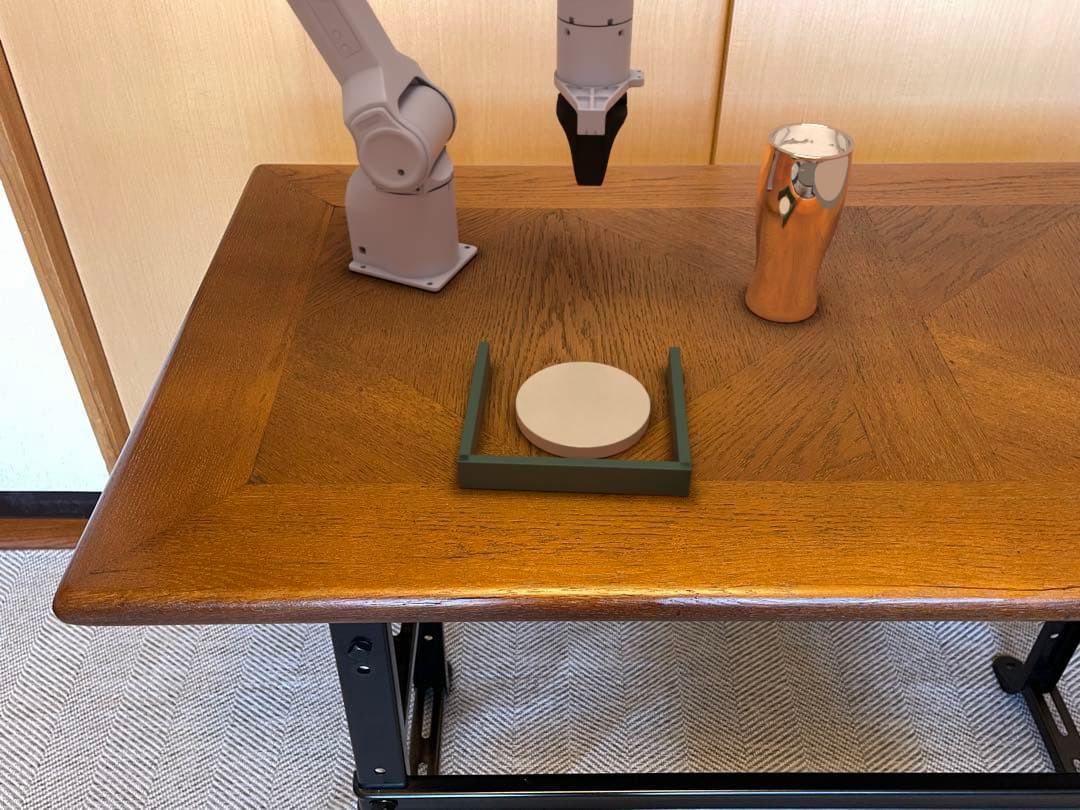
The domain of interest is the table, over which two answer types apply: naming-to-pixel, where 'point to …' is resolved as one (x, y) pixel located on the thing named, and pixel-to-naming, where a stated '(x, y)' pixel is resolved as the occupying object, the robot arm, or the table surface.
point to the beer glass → (797, 216)
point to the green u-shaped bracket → (575, 470)
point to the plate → (582, 410)
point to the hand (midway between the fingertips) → (589, 182)
